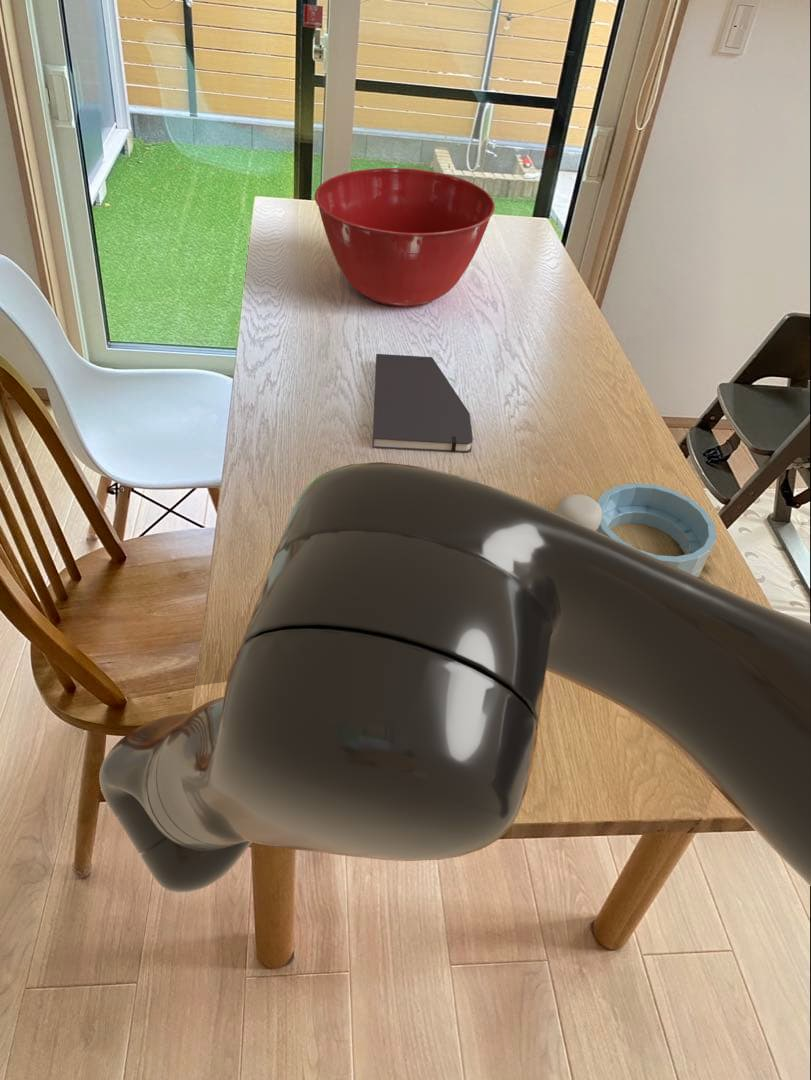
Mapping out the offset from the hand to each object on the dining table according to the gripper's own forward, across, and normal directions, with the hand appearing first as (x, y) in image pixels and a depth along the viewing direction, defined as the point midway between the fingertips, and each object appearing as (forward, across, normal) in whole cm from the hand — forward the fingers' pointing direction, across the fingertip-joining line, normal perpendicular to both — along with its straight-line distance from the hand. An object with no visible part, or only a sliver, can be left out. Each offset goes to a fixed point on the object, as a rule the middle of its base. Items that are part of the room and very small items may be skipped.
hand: (510, 565), depth 67 cm
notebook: (+26, +35, +12) cm, 46 cm away
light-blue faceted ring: (+23, -2, +12) cm, 26 cm away
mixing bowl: (+49, +63, +12) cm, 81 cm away
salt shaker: (+11, 0, +12) cm, 17 cm away
